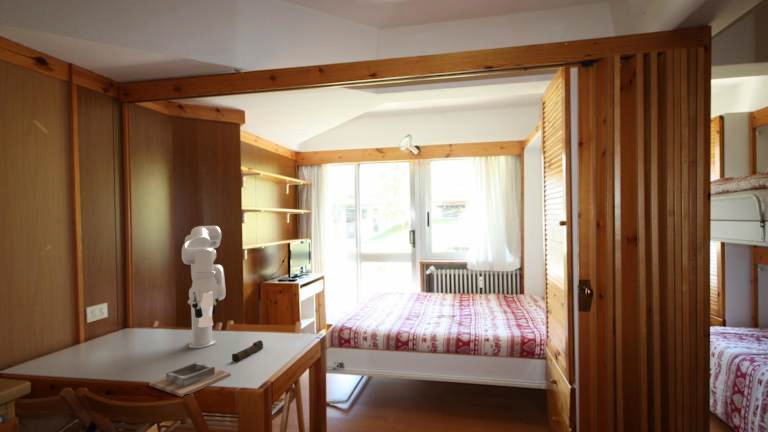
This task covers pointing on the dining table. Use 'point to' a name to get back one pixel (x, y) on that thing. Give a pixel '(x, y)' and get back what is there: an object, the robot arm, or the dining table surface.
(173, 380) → the glass dock
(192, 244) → the robot arm
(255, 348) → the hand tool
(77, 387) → the dining table surface
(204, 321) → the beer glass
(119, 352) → the dining table surface
